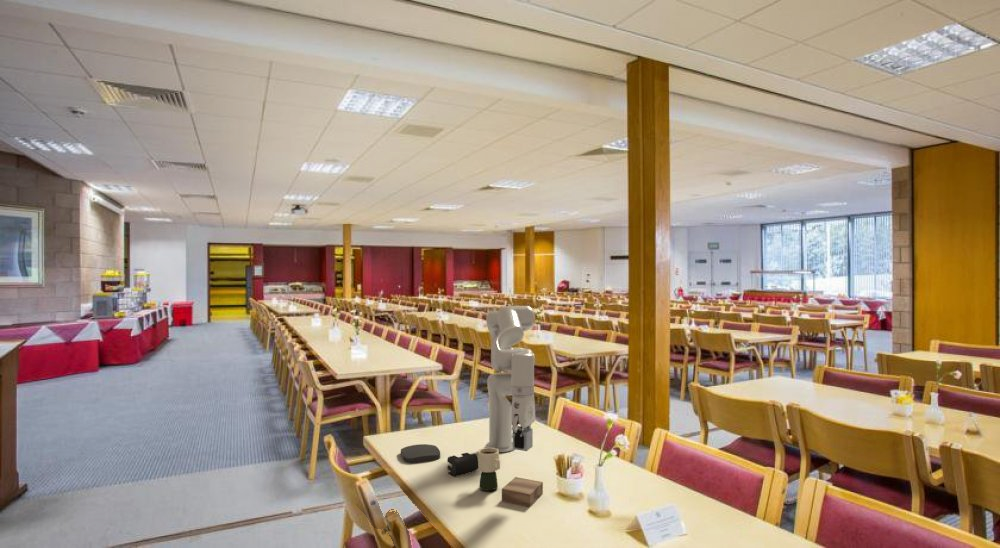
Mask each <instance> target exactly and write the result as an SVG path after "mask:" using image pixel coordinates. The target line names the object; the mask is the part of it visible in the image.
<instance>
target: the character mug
mask: <svg viewBox="0 0 1000 548" xmlns="http://www.w3.org/2000/svg"><path fill="white" fill-rule="evenodd" d="M477 452H478V453H477V457H478V471H480V472H481V473H480V479H479V489H480V490H481V491H492V490H495V489H498V487H499V484H498V478H497V473H496V471H498V470H500V468H501V461H500V452H499V451H498V449H495V448H486V447H484V448H483V447H482V448H480V449H478V451H477Z"/></svg>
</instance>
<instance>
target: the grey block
mask: <svg viewBox="0 0 1000 548" xmlns="http://www.w3.org/2000/svg"><path fill="white" fill-rule="evenodd" d="M518 429H519V430H520V431H521V428H518ZM512 433H513V438H512V442H513V449H514V450H516V451H522V452H529V450H530V449H531V448H533V445H534V444H533V439H534V437H533V433H534V432H533V428H532V427H531V428H524V430H523V436H524V448H523V449H520V448H515V447H514V432H513V431H512Z"/></svg>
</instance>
